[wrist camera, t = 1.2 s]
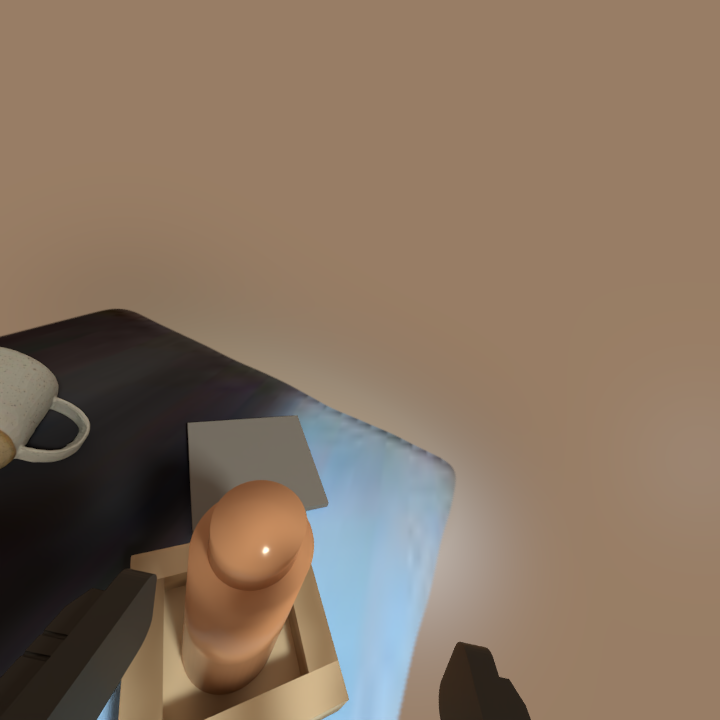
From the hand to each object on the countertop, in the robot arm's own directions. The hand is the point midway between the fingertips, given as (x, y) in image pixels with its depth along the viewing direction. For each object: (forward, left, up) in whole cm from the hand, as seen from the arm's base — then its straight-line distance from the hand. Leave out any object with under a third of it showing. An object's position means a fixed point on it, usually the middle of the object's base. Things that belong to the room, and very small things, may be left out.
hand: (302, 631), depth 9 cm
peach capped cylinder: (+1, +6, -19) cm, 20 cm away
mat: (+5, +20, -20) cm, 28 cm away
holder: (+1, +6, -20) cm, 21 cm away
